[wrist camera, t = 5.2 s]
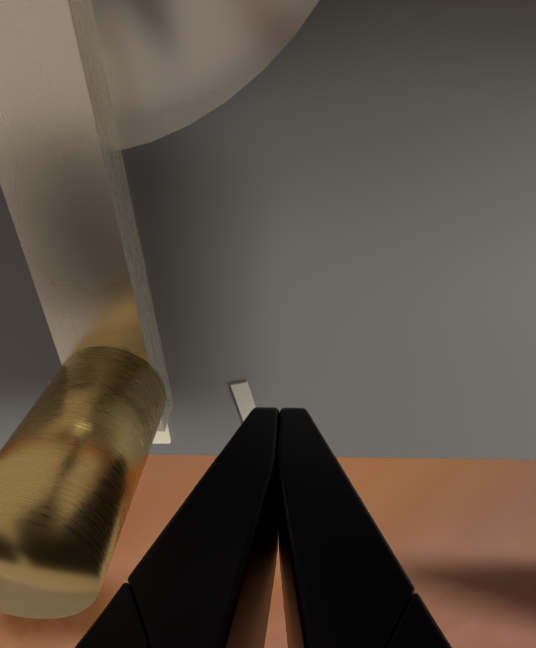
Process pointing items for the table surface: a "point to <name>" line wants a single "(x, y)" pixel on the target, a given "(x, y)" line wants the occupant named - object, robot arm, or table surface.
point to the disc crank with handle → (98, 256)
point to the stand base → (340, 242)
